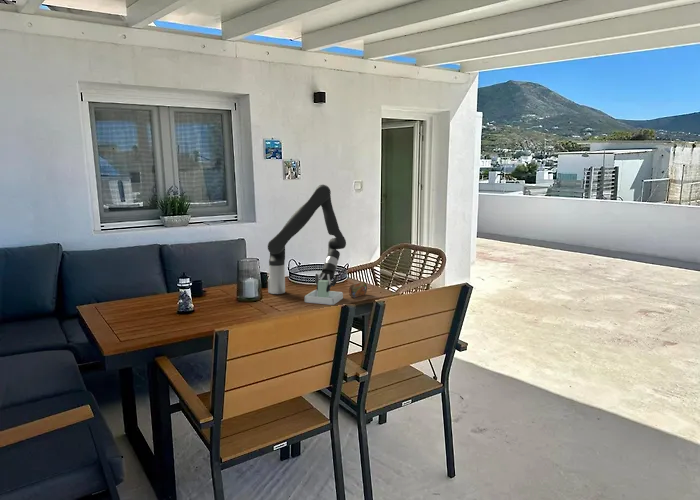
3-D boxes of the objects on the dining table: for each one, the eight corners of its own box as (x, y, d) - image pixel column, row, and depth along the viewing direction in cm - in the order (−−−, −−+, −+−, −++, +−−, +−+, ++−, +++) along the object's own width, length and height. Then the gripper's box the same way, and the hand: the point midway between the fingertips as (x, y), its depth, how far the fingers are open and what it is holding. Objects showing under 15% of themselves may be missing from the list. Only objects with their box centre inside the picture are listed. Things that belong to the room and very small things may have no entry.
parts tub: (304, 303, 268) (304, 296, 267) (315, 296, 282) (315, 289, 281) (333, 305, 262) (333, 298, 262) (342, 299, 276) (342, 292, 276)
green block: (317, 297, 270) (317, 281, 269) (321, 294, 275) (321, 279, 274) (326, 297, 269) (326, 282, 267) (329, 295, 273) (329, 280, 272)
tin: (352, 299, 275) (352, 285, 274) (348, 298, 277) (348, 284, 276) (367, 294, 287) (367, 280, 286) (363, 293, 289) (363, 280, 288)
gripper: (317, 261, 278) (308, 286, 269) (340, 263, 274) (332, 288, 264) (320, 268, 284) (312, 293, 275) (343, 270, 279) (336, 295, 270)
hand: (322, 290), depth 270 cm, fingers closed on green block, 5 cm apart
